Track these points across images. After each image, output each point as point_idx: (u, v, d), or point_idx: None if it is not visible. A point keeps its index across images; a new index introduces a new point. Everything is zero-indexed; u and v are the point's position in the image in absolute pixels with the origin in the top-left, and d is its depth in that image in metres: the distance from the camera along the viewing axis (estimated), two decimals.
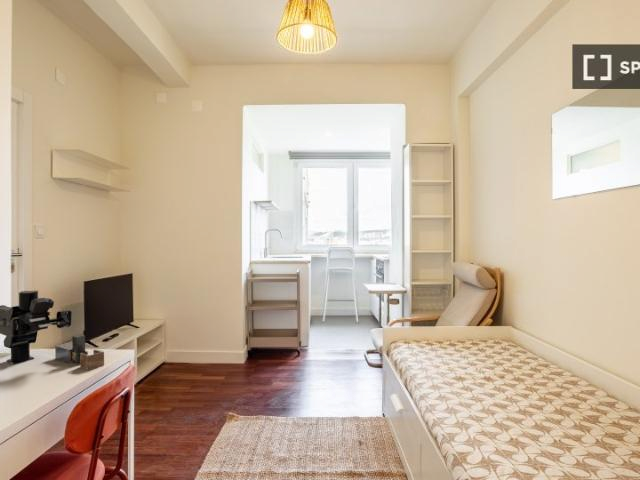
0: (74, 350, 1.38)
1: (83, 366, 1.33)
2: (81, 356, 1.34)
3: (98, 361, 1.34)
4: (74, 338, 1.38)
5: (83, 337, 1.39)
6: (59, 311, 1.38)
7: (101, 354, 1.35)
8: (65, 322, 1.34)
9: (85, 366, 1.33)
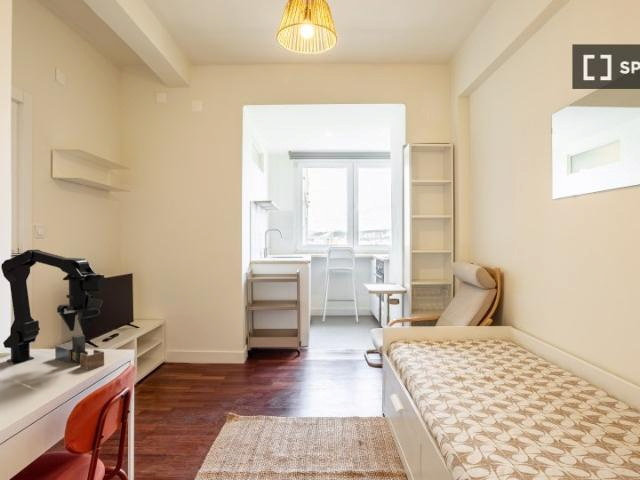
0: (74, 350, 1.38)
1: (83, 366, 1.33)
2: (81, 356, 1.34)
3: (98, 361, 1.34)
4: (74, 338, 1.38)
5: (83, 337, 1.39)
6: None
7: (101, 354, 1.35)
8: (72, 326, 1.41)
9: (85, 366, 1.33)
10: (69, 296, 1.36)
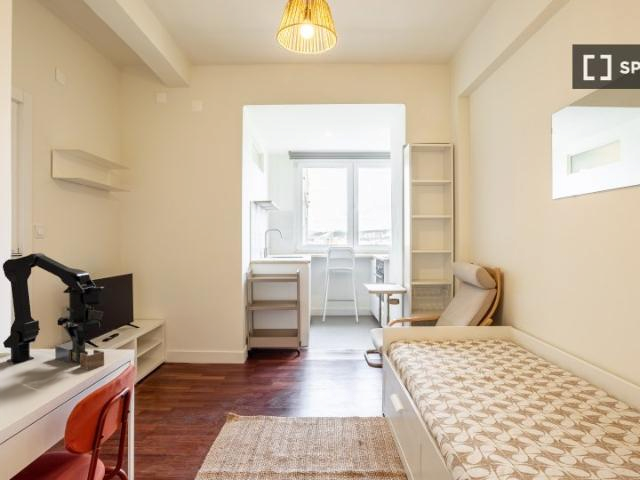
0: (74, 350, 1.38)
1: (83, 366, 1.33)
2: (81, 356, 1.34)
3: (98, 361, 1.34)
4: (74, 338, 1.38)
5: None
6: None
7: (101, 354, 1.35)
8: None
9: (85, 366, 1.33)
10: (69, 309, 1.37)
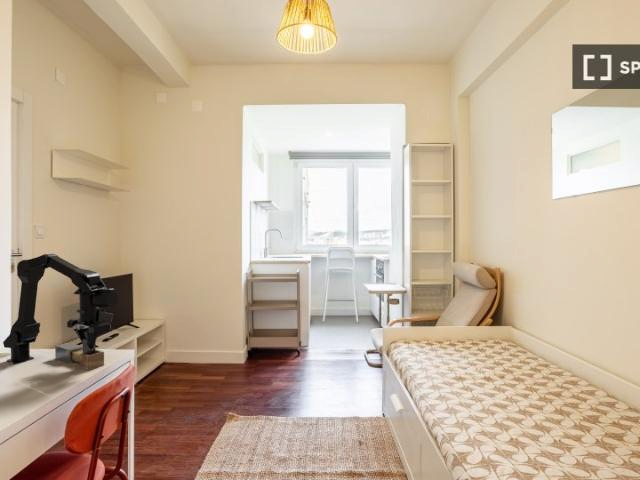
0: (84, 353, 1.35)
1: (83, 366, 1.33)
2: (81, 356, 1.34)
3: (98, 361, 1.34)
4: (84, 341, 1.35)
5: None
6: None
7: (101, 354, 1.35)
8: None
9: (85, 366, 1.33)
10: (80, 311, 1.33)
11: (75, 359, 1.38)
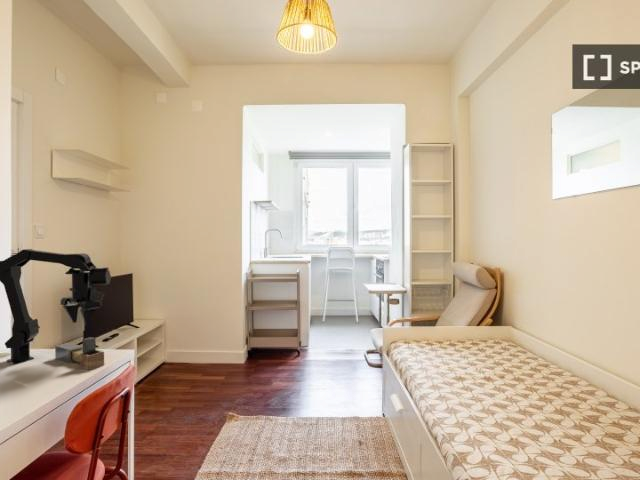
0: (84, 353, 1.35)
1: (83, 366, 1.33)
2: (81, 356, 1.34)
3: (98, 361, 1.34)
4: (84, 341, 1.35)
5: (93, 340, 1.36)
6: None
7: (101, 354, 1.35)
8: (75, 318, 1.48)
9: (85, 366, 1.33)
10: (72, 289, 1.43)
11: (75, 359, 1.38)
